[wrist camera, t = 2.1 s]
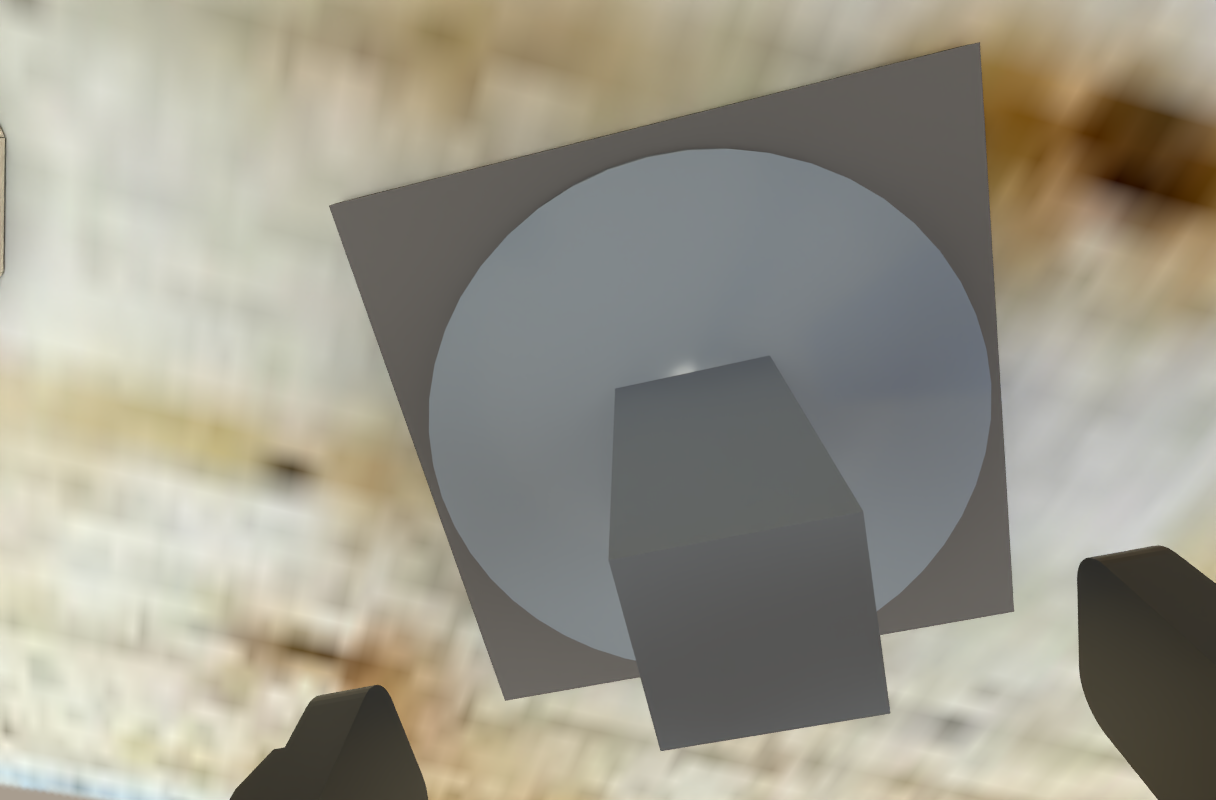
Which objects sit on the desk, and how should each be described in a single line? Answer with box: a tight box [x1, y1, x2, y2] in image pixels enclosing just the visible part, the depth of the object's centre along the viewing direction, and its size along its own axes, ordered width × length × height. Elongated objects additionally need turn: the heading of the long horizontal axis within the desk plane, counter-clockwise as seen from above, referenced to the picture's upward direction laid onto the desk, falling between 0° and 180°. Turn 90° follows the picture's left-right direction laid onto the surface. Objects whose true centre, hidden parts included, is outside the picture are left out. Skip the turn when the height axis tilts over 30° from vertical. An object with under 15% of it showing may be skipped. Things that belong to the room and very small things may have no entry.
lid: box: [429, 148, 991, 751], centre depth 12 cm, size 11×11×7 cm
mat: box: [329, 42, 1014, 701], centre depth 16 cm, size 12×12×1 cm
